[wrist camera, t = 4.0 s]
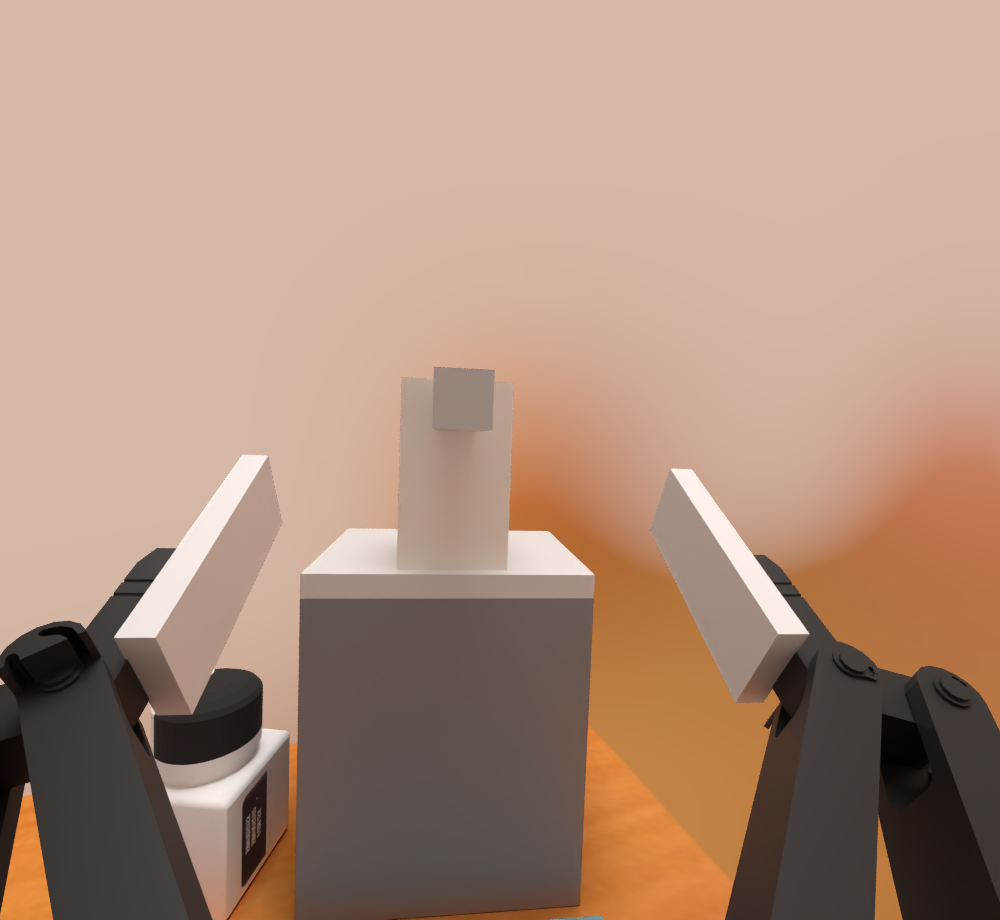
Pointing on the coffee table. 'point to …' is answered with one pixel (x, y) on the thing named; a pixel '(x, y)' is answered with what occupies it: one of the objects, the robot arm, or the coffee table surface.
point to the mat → (582, 918)
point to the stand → (441, 732)
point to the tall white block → (454, 471)
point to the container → (225, 784)
